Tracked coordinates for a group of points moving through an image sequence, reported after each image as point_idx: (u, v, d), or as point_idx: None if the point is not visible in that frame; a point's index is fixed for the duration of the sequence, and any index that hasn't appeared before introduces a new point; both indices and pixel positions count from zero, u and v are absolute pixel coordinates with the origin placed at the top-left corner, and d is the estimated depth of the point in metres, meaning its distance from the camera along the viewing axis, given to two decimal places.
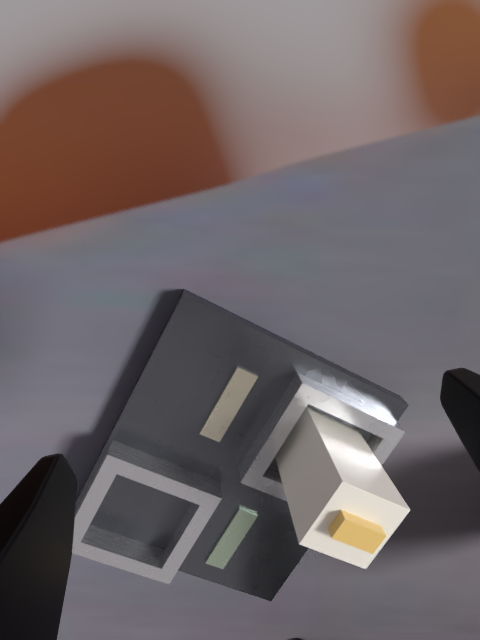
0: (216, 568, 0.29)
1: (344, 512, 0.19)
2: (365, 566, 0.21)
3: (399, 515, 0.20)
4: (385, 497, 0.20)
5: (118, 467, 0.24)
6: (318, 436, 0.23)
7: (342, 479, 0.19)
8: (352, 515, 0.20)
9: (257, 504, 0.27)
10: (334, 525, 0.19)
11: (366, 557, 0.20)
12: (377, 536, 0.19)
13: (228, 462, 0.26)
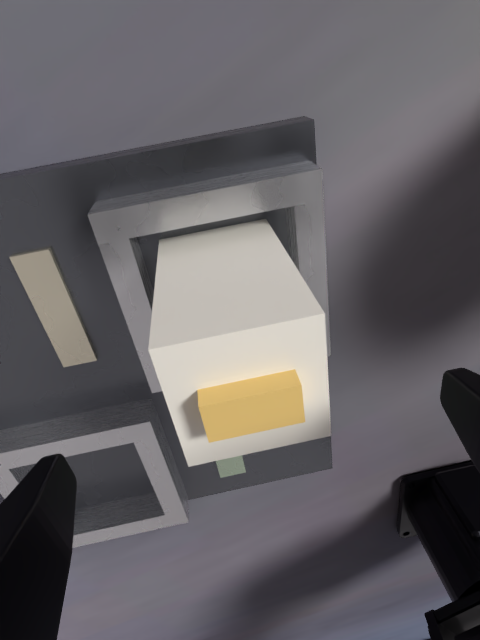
0: (239, 474, 0.22)
1: (204, 391, 0.10)
2: (326, 433, 0.11)
3: (313, 334, 0.09)
4: (260, 322, 0.09)
5: (1, 462, 0.17)
6: (157, 280, 0.12)
7: (150, 344, 0.09)
8: (227, 384, 0.10)
9: None
10: None
11: (315, 422, 0.11)
12: (285, 395, 0.09)
13: (136, 373, 0.18)
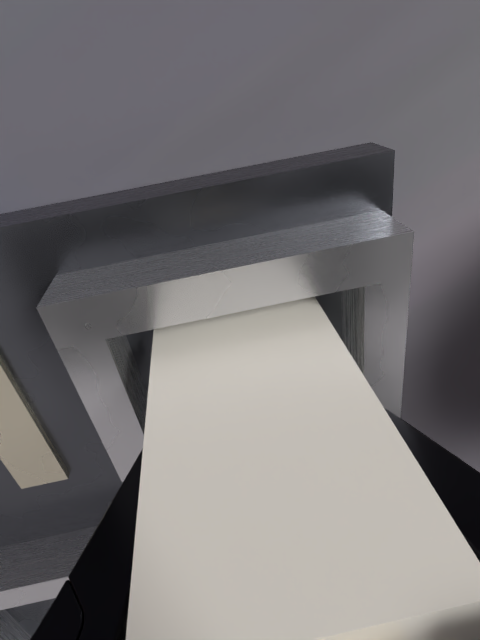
0: None
1: None
2: None
3: (467, 624, 0.05)
4: (361, 610, 0.04)
5: None
6: (148, 420, 0.07)
7: None
8: None
9: None
10: None
11: None
12: None
13: None
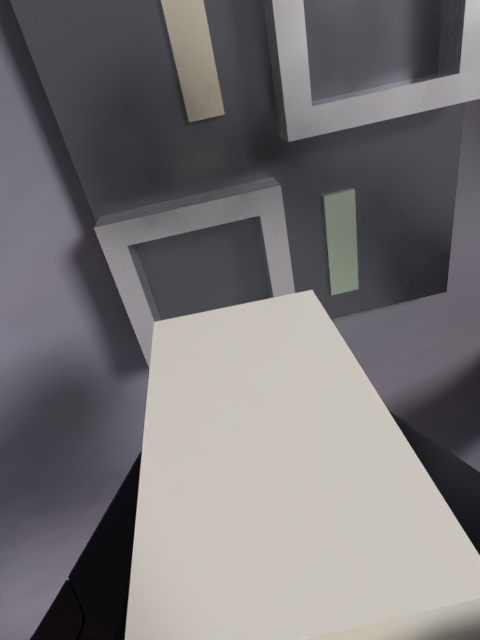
0: (350, 293, 0.21)
1: None
2: None
3: (469, 621, 0.04)
4: (362, 606, 0.04)
5: (121, 235, 0.16)
6: (148, 417, 0.07)
7: None
8: None
9: (344, 174, 0.18)
10: None
11: None
12: None
13: (262, 139, 0.16)
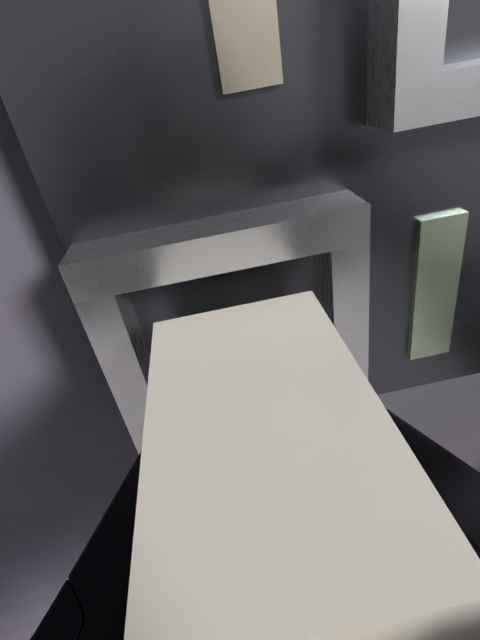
0: (435, 357, 0.14)
1: None
2: None
3: (468, 623, 0.04)
4: (362, 608, 0.04)
5: (104, 279, 0.10)
6: (147, 418, 0.07)
7: None
8: None
9: (456, 187, 0.11)
10: None
11: None
12: None
13: (337, 129, 0.10)
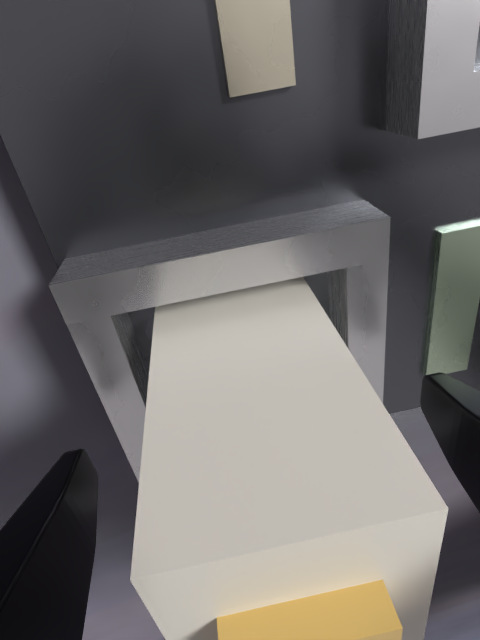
0: (452, 374, 0.14)
1: (229, 623, 0.06)
2: None
3: (422, 536, 0.05)
4: (332, 522, 0.05)
5: (99, 298, 0.09)
6: (151, 384, 0.08)
7: (135, 564, 0.05)
8: (268, 607, 0.06)
9: (479, 197, 0.11)
10: None
11: (402, 632, 0.07)
12: None
13: (353, 134, 0.09)
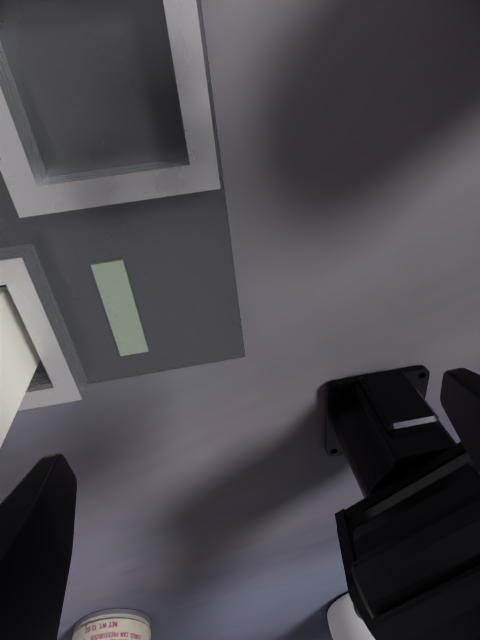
0: (142, 355, 0.21)
1: None
2: None
3: None
4: None
5: None
6: None
7: None
8: None
9: (110, 244, 0.18)
10: None
11: None
12: None
13: (12, 208, 0.16)
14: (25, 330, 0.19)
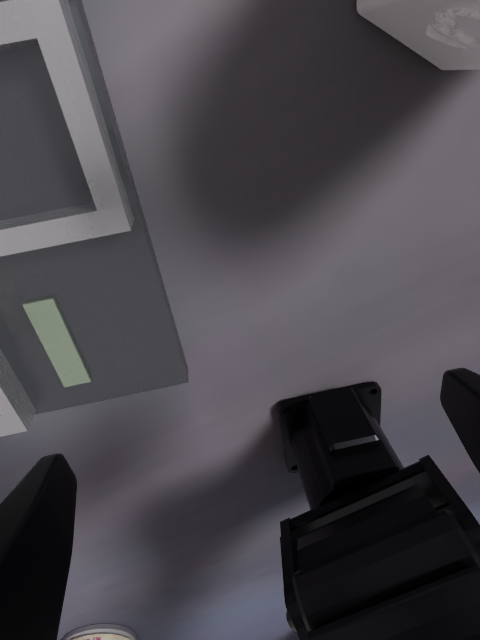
0: (85, 385, 0.21)
1: None
2: None
3: None
4: None
5: None
6: None
7: None
8: None
9: (39, 284, 0.18)
10: None
11: None
12: None
13: None
14: None
